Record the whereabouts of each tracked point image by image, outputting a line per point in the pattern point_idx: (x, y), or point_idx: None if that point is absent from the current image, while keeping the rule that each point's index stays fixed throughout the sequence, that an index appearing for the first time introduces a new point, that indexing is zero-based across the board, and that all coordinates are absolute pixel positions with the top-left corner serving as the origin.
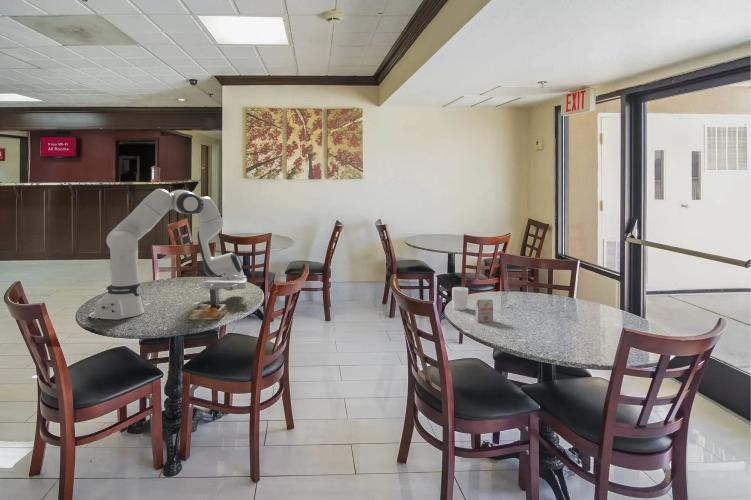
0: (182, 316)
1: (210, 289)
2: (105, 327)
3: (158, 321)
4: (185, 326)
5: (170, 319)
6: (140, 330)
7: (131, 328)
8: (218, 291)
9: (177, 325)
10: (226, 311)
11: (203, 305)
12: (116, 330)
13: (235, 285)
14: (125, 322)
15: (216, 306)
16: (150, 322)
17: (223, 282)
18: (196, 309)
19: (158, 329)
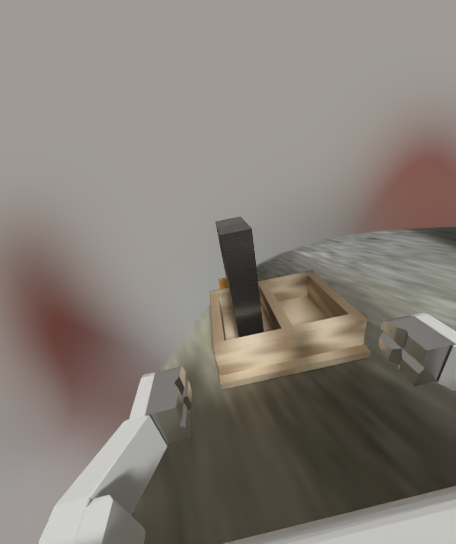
0: (363, 303)
1: (238, 217)
2: (438, 230)
3: (377, 266)
4: (273, 266)
5: (365, 280)
6: (343, 241)
7: (375, 240)
8: (223, 256)
9: (297, 265)
10: (219, 376)
11: (325, 320)
12: (388, 232)
13: (108, 452)
14: (452, 246)
15: (229, 293)
16: (388, 259)
17: (410, 501)
18: (329, 305)
19: (314, 249)
